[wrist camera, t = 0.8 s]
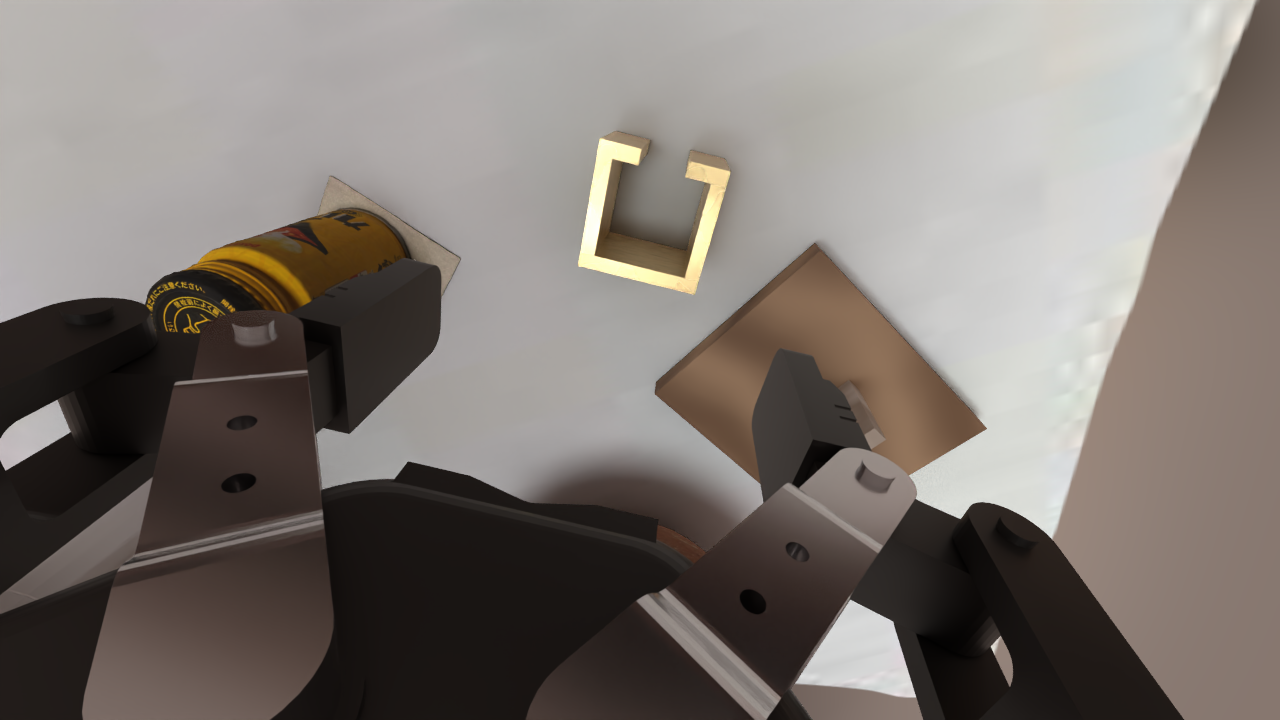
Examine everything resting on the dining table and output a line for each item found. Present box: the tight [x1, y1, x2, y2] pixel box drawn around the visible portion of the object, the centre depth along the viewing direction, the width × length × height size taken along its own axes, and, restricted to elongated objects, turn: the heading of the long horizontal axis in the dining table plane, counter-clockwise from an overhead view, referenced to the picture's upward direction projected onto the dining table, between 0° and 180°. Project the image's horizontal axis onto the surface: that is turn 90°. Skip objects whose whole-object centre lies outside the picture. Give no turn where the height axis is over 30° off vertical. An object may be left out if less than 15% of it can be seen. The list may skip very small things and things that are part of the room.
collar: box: [578, 131, 731, 295], centre depth 26 cm, size 6×6×5 cm
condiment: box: [145, 176, 460, 333], centre depth 27 cm, size 7×8×12 cm
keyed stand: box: [655, 243, 987, 484], centre depth 30 cm, size 13×16×6 cm
